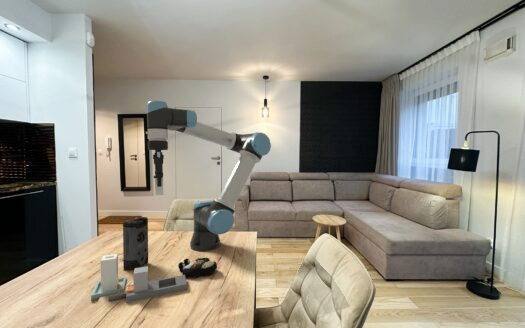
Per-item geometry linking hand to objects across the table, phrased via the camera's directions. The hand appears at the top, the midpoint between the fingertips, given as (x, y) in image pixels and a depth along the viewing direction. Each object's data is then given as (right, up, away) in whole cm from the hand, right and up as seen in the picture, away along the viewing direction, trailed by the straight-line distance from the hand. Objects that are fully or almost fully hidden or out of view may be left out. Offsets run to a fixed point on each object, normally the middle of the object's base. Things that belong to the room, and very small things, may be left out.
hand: (159, 192), depth 98 cm
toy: (+17, -32, -3) cm, 36 cm away
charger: (-10, -31, -15) cm, 36 cm away
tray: (-10, -32, -15) cm, 37 cm away
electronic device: (-10, -32, +2) cm, 33 cm away
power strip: (+5, -32, -18) cm, 37 cm away
